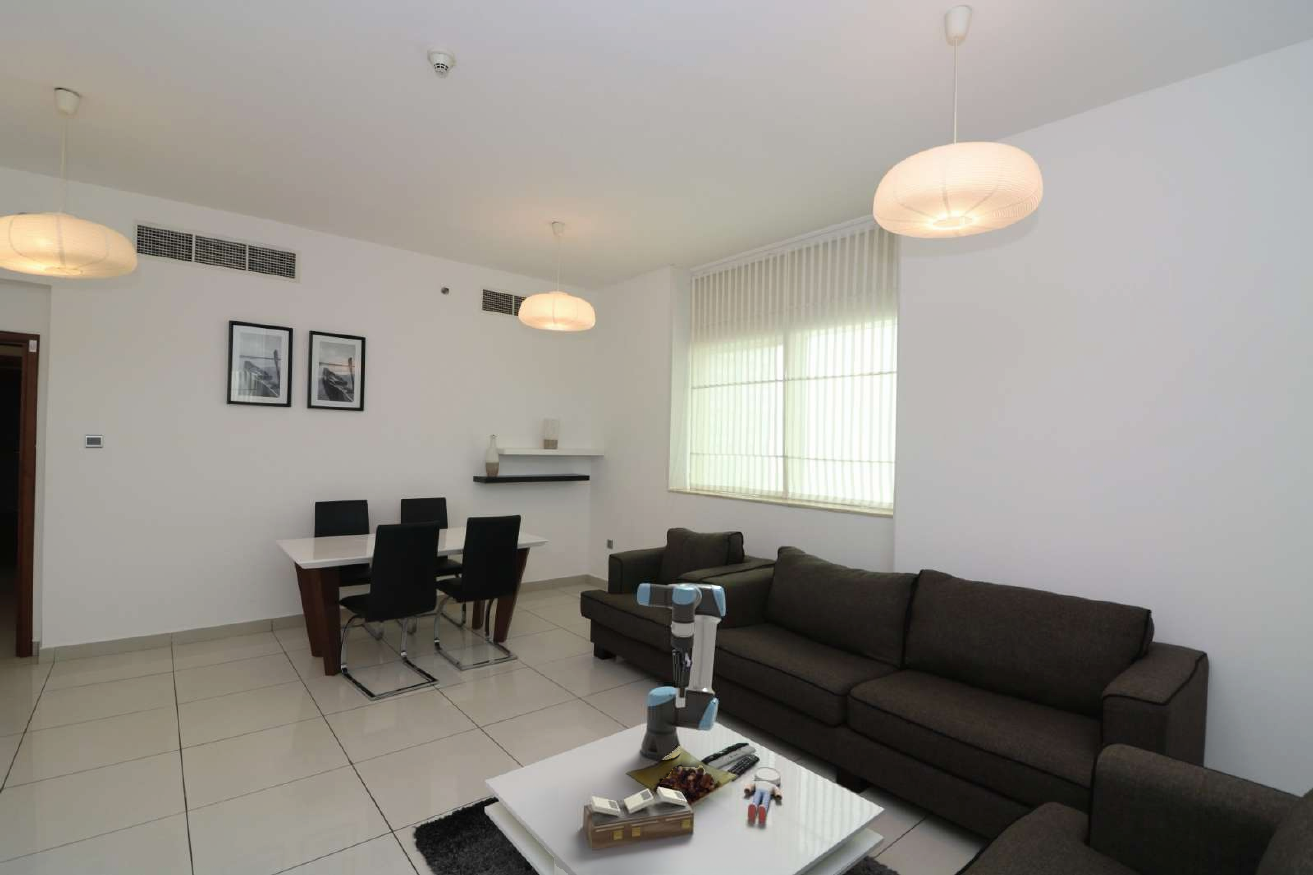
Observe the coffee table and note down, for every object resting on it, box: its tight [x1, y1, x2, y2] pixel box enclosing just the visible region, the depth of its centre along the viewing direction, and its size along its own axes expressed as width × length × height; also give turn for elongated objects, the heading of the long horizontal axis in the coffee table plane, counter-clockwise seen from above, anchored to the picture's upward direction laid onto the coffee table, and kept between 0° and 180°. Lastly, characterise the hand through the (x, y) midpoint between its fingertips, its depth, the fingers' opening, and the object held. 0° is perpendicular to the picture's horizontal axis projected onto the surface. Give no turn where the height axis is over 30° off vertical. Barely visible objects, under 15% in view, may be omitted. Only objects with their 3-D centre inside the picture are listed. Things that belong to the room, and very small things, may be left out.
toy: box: [743, 766, 783, 823], centre depth 207 cm, size 6×13×30 cm
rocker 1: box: [589, 795, 621, 816], centre depth 183 cm, size 6×8×2 cm
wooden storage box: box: [582, 794, 695, 851], centre depth 186 cm, size 12×31×7 cm, turn 108°
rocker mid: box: [623, 788, 655, 814], centre depth 186 cm, size 6×8×1 cm
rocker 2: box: [656, 786, 688, 806], centre depth 189 cm, size 6×8×2 cm
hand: (680, 706), depth 204 cm, fingers closed
